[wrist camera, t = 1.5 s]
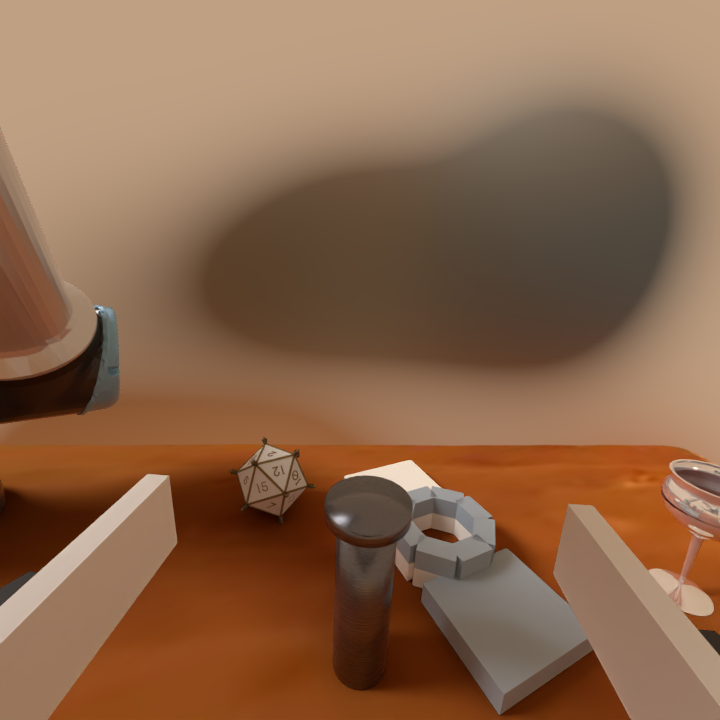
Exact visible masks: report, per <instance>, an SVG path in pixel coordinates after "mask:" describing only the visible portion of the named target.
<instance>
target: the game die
mask: <svg viewBox="0 0 720 720" xmlns="http://www.w3.org/2000/svg"><path fill="white" fill-rule="evenodd" d="M262 441H263V443H264V445H263V446H262V447H261V448H260V449H259V450H258V451H257V452H256V453H255V454H254V455H253V456H252V457H251V458H250V459H249V460H248V461H247V462H246V463H245V464H244V465H243V466H242V467H241V468H240V469H239V470H238V471H236V470H234V469H232V470H230V471H229V472H230V473H231V474H237V477H238V481H239V484H240V487H241V490H242V494H243V497H244V500H245V504H243V506H241V510H240V511H242V510H245V509H246V508H250V507H252V508H255V509H258V510H261V511H264V512H267V513H269V514H272V515H275V516H278V517H279V519H278V520H279V522H280V523H281V524H283V521H284V520H283V517H282V515H283V514H284V513H285V512H286V511H287V509H288V508H289V507H290V506H291V505H292V504H293V503H294V502H295V501H296V499H297V498H298V497H299V496H300V495H301V494H302V493H303V492H304V491H305V489H306V488H307V487H309V488H315V486H314V485H313V484H308V483H307V480H306V478H305V476H304V474H303V471H302V469H301V467H300V464H299V462H298V460H297V458H298V457H299V449H298V450H295V451H294V453H291V452H288V451H285V450H283V449H280V448H277V447H275V446H272V445H269V444H267V439H266V438H265V437H263V440H262ZM247 506H248V507H247Z"/></svg>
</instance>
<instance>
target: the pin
mask: <svg viewBox="0 0 720 720" xmlns="http://www.w3.org/2000/svg"><path fill="white" fill-rule="evenodd" d="M412 512H413V504H412V500H411V497H410V496H409V494H408V493H407V492H406V490H405V489H403V488H402V487H401V486H400V485H398V484H397V483H395V482H393V481H391V480H388V479H385V478H382V477H377V476H368V475H362V476H354V477H349V478H346V479H344V480H341V481H339V482H338V483H336V484H335V485H334V486H332V487H331V488H330V490H329V491H328V493H327V495H326V498H325V521H326V524H327V526H328V528H329V530H330V531H331V532H332V533H333V534H334V535H335V536H336V569H335V603H334V636H333V667H334V671H335V673H336V675H337V677H338V678H339V680H340V681H341V682H342V683H343V684H344V685H346V686H347V687H349V688H351V689H355V690H366V689H369V688H371V687H373V686H375V685H376V684H377V683H378V682H379V681H380V680H381V678H382V677H383V674H384V672H385V668H386V660H387V648H388V637H389V626H390V614H391V603H392V592H393V581H394V569H395V558H396V547H397V541H399V540H401V539H402V538H403V537H404V536H405V535H406V534H407V532H408V531H409V529H410V526H411V522H412Z"/></svg>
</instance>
